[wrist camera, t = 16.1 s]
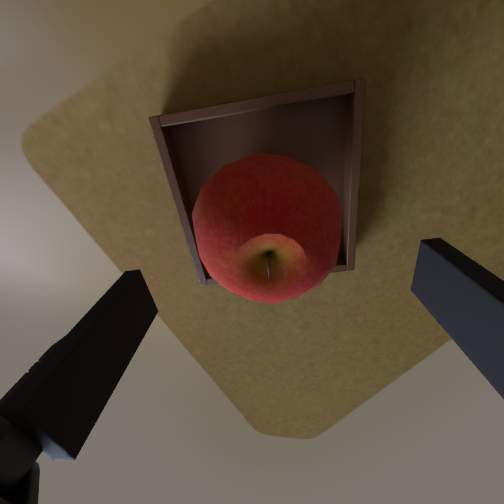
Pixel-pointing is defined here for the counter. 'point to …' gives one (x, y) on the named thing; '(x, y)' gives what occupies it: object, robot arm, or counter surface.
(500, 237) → the counter surface
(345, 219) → the tray
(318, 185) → the apple
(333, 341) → the counter surface
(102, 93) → the counter surface
